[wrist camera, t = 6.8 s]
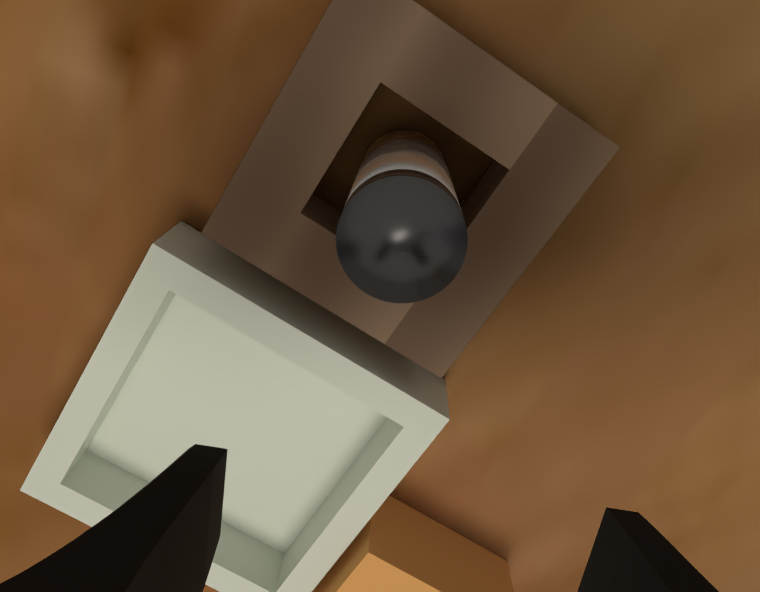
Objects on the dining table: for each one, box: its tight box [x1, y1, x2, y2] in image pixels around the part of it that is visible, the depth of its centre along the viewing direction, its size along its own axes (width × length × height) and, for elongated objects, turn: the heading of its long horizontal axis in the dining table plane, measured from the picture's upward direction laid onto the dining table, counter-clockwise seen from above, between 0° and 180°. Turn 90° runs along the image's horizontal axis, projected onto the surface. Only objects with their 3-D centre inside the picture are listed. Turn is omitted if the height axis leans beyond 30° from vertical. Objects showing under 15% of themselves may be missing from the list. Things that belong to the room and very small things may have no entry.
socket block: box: [201, 0, 620, 378], centre depth 19 cm, size 8×8×2 cm
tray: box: [20, 221, 450, 592], centre depth 22 cm, size 10×10×2 cm
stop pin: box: [336, 130, 468, 303], centre depth 16 cm, size 3×3×7 cm
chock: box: [312, 495, 513, 592], centre depth 24 cm, size 6×4×4 cm, turn 58°
